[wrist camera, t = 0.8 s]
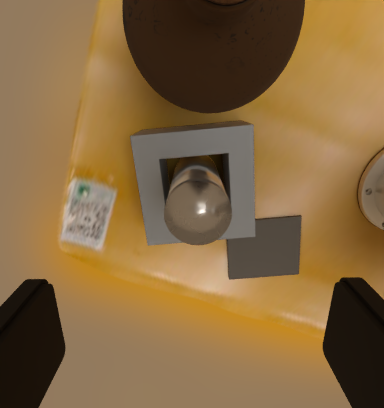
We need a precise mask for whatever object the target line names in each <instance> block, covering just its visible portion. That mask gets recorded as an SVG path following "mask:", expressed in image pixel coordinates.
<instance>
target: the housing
mask: <svg viewBox="0 0 384 408" xmlns="http://www.w3.org/2000/svg"><path fill="white" fill-rule="evenodd" d="M130 139H131V145H132V151H133V157H134V163H135V170H136V176H137V182H138V188H139V194H140V200H141V206H142V213H143V219H144V225H145V231H146V237H147V243H148V245H159V244H172V243H184V242H182V241H180V240H178V239H177V238H176V237H175V236H173V235H172V233H171V232H170V231H169V230H168V228H167V226H166V223H165V219H164V208H165V204H166V200H167V198H168V195H169V191H170V184H169V176H168V168H167V160H166V159H168V158H179V157H190V156H201V155H212V154H222V158H223V177H224V189H225V192H226V194H227V196H228V198H229V201H230V203H231V207H232V219H231V223H230V225H229V227H228V229H227V231H226V232H225V233H224V234H223V235H222V236H221V237H220V238H219V239H217V240H220V239H233V238H245V237H255V186H254V125H253V124H250V123H247V122H244V121H242V120H241V121H230V122H220V123H209V124H199V125H188V126H177V127H167V128H156V129H146V130H141V131H139V132H137V133H135V134H133V135H131V136H130Z"/></svg>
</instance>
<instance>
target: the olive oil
mask: <svg viewBox="0 0 384 408" xmlns="http://www.w3.org/2000/svg"><path fill="white" fill-rule="evenodd" d="M304 7H305V0H123V24H124V31H125V36H126V40H127V44H128V47H129V50H130V53H131V55H132V58H133V60H134V62H135V64H136V66H137V68H138V69H139V71H140V73H141V74H142V76H143V77H144V78H145V80H146V81H147V82H148V83H149V85H150V86H151V87H152V88H153V89H154V90H155V91H156V92H157V93H159V94H160V95H161V96H162V97H164V98H165V99H166V100H168V101H169V102H171V103H173V104H175V105H177V106H179V107H181V108H184V109H187V110H190V111H194V112H200V113H219V112H225V111H230V110H233V109H236V108H239V107H241V106H243V105H245V104H247V103H249V102H251V101H253V100H254V99H256V98H257V97H258V96H260V95H261V94H262V93H264V92H265V91H266V90H267V89H268V88H269V87H270V86H271V85H272V84H273V83H274V82H275V80H276V79H277V78H278V77H279V75H280V74H281V73H282V71H283V70H284V68H285V67H286V65H287V63H288V61H289V60H290V58H291V56H292V53H293V51H294V49H295V46H296V44H297V41H298V38H299V34H300V30H301V26H302V22H303V16H304Z"/></svg>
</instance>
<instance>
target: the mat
mask: <svg viewBox="0 0 384 408" xmlns="http://www.w3.org/2000/svg"><path fill="white" fill-rule="evenodd" d="M300 236H301V216H300V215H299V216H287V217H275V218H264V219H255V237H245V238H233V239H227V250H228V268H229V280H230V279H243V278H256V277H269V276H282V275H295V274H299V259H300Z"/></svg>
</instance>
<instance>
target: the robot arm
mask: <svg viewBox="0 0 384 408" xmlns="http://www.w3.org/2000/svg"><path fill="white" fill-rule="evenodd" d="M358 201H359V205H360V209H361V211H362V213H363V214H364V216H365V217H366V218H367V219H368V220H369V221H370V222H371V223H372V224H374V225H375V226H377V227H378V228H380V229H382V230H384V149H383V150H382V151H381V152H380V153H379V154H377V155H376V156H375V157H374V158H373V160H372V161H371V162H370V163H369V165H368V166H367V168H366V170H365V171H364V173H363V175H362V178H361V181H360V183H359V189H358ZM323 352H324V355H325V357H326V359H327V361H328V363H329V365H330V367H331V369H332V371H333V373H334V375H335V376H336V378H337V380H338V382H339V383H340V386H341V388H342V390H343V392H344V393H345V395H346V397H347V399H348V401H349V403H350V405H351V406H352V408H384V300H383V299H382V297H381V296H380V295H379V294H378V293H377V292H376V291H375V290H374V289H373V288H372V287H371V286H370V285H369V284H368V283H367V282H366V281H365V280H364V279H362V278H359V277H357V278H341V279H340V281H339V282H337V283H336V284H335V286H334V291H333V296H332V301H331V306H330V311H329V316H328V321H327V326H326V331H325V336H324V341H323ZM64 354H65V342H64V337H63V332H62V328H61V322H60V318H59V313H58V308H57V303H56V298H55V293H54V288H53V286H52V284H48V281H47V280H45V279H28V280H25V281H24V282H23V283H22V284H21V285H20V286H19V287H18V288H17V289H16V291H14V293H13V294H12V295H11V296H10V297H9V298H8V299H7V300H6V301H5V302H4V303H3V304H2V305H1V306H0V408H38V407H39V406H40V403H41V402H42V400H43V398H44V396H45V393H46V392H47V390H48V388H49V386H50V384H51V381H52V380H53V378H54V376H55V374H56V372H57V370H58V368H59V366H60V364H61V362H62V360H63V357H64Z"/></svg>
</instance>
